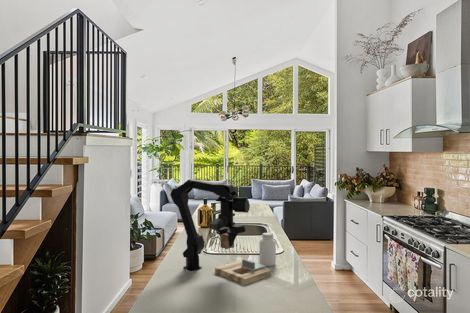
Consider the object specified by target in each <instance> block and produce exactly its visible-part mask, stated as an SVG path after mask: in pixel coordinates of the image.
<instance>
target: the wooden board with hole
mask: <svg viewBox="0 0 470 313" xmlns="http://www.w3.org/2000/svg"><path fill="white" fill-rule="evenodd" d="M241 265H242V259H240V260H235V261H232V262H230V263H226V264H222V265H219V266H215V267H214V274H217V275H219V276H221V277H225V278H227V279H229V280H233V281H234V282H238V283H239V284H242V285H243V286H245V285H247V284H250V283H254V282H256V281H258V280H261V279H265V278H267V277H270V276H271V275H272V274H271V271H272V270H270V269H269V268H266V267H264V268H261V269H258V270H255V271H252V270H249V269H246V268H244V267H241ZM242 273H243V274H242Z"/></svg>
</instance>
